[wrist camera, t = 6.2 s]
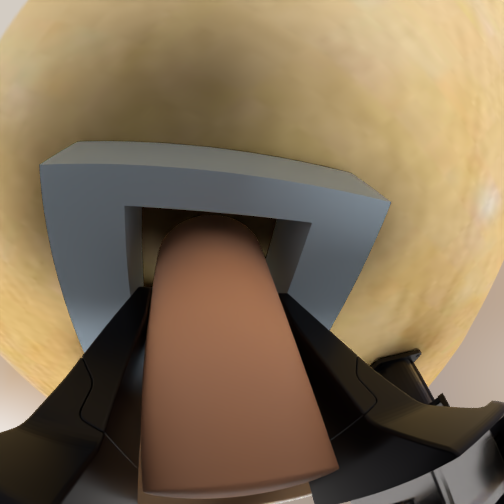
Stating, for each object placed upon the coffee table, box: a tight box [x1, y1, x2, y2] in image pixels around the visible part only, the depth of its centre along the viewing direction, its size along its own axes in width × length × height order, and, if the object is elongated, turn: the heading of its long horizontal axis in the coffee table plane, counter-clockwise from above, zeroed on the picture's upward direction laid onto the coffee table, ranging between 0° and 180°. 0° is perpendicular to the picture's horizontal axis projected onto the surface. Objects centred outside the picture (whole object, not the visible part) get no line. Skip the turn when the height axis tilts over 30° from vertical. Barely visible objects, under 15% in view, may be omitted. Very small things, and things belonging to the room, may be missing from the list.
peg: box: [141, 215, 339, 499], centre depth 7 cm, size 4×4×8 cm
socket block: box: [39, 141, 391, 353], centre depth 12 cm, size 11×13×3 cm
